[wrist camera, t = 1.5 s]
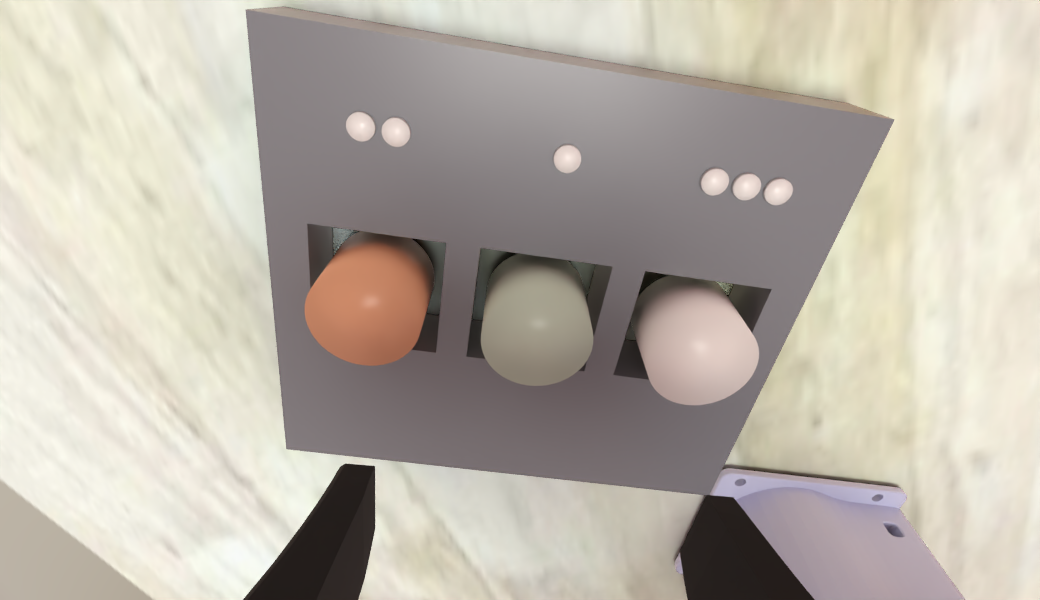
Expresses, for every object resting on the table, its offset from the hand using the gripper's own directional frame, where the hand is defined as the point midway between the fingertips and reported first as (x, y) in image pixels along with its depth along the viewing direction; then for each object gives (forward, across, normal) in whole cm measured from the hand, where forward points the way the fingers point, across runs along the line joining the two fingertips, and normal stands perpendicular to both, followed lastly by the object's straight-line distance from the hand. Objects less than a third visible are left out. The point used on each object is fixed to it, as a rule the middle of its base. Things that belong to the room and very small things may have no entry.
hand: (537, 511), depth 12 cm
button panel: (+10, 0, 0) cm, 11 cm away
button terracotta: (+9, +5, 0) cm, 11 cm away
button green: (+9, 0, 0) cm, 9 cm away
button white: (+9, -6, 0) cm, 11 cm away
